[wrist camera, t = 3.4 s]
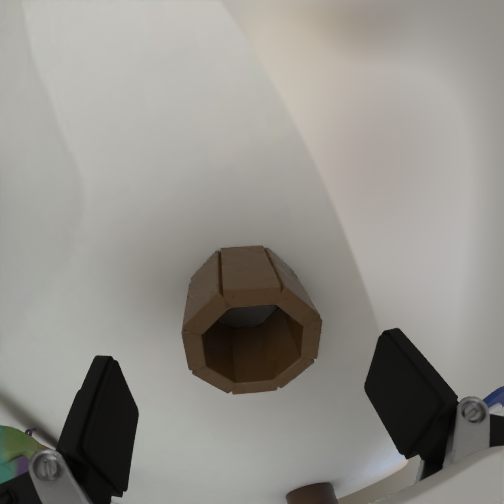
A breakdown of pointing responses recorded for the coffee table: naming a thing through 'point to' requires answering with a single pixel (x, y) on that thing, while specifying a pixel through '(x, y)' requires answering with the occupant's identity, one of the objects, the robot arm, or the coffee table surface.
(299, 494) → the ball stand
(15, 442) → the decorative sculpture
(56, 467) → the robot arm
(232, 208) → the coffee table surface
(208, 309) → the bronze ring
